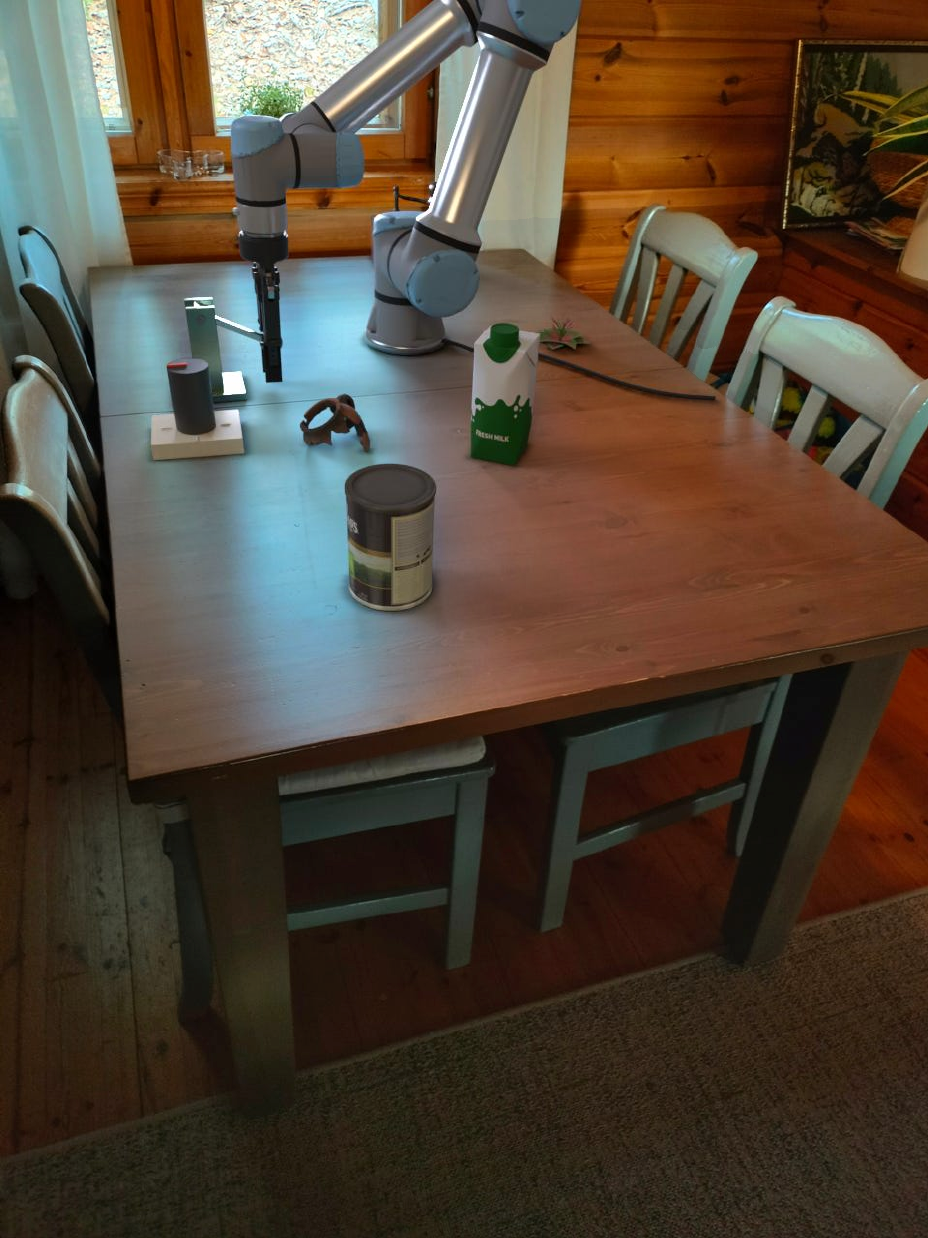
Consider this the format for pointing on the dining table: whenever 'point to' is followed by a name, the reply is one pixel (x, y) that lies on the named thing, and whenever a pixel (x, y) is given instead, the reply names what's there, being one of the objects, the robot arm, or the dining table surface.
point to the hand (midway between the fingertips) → (272, 376)
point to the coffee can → (390, 535)
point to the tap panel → (196, 438)
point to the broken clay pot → (334, 421)
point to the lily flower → (561, 336)
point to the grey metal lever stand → (211, 350)
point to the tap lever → (237, 328)
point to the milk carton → (503, 392)
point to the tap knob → (191, 395)
